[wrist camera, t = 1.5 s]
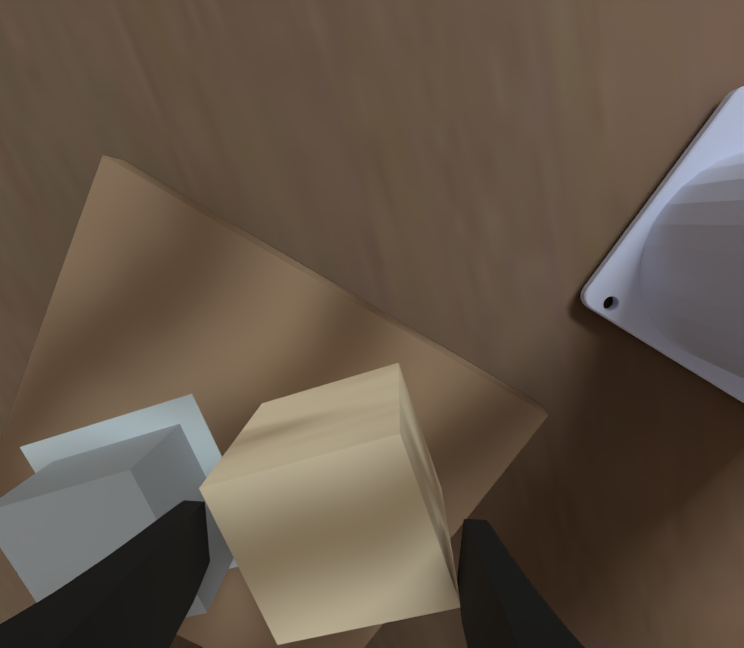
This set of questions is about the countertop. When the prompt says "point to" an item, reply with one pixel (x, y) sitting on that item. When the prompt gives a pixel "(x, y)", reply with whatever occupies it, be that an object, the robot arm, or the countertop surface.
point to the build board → (228, 363)
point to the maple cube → (336, 509)
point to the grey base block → (104, 510)
